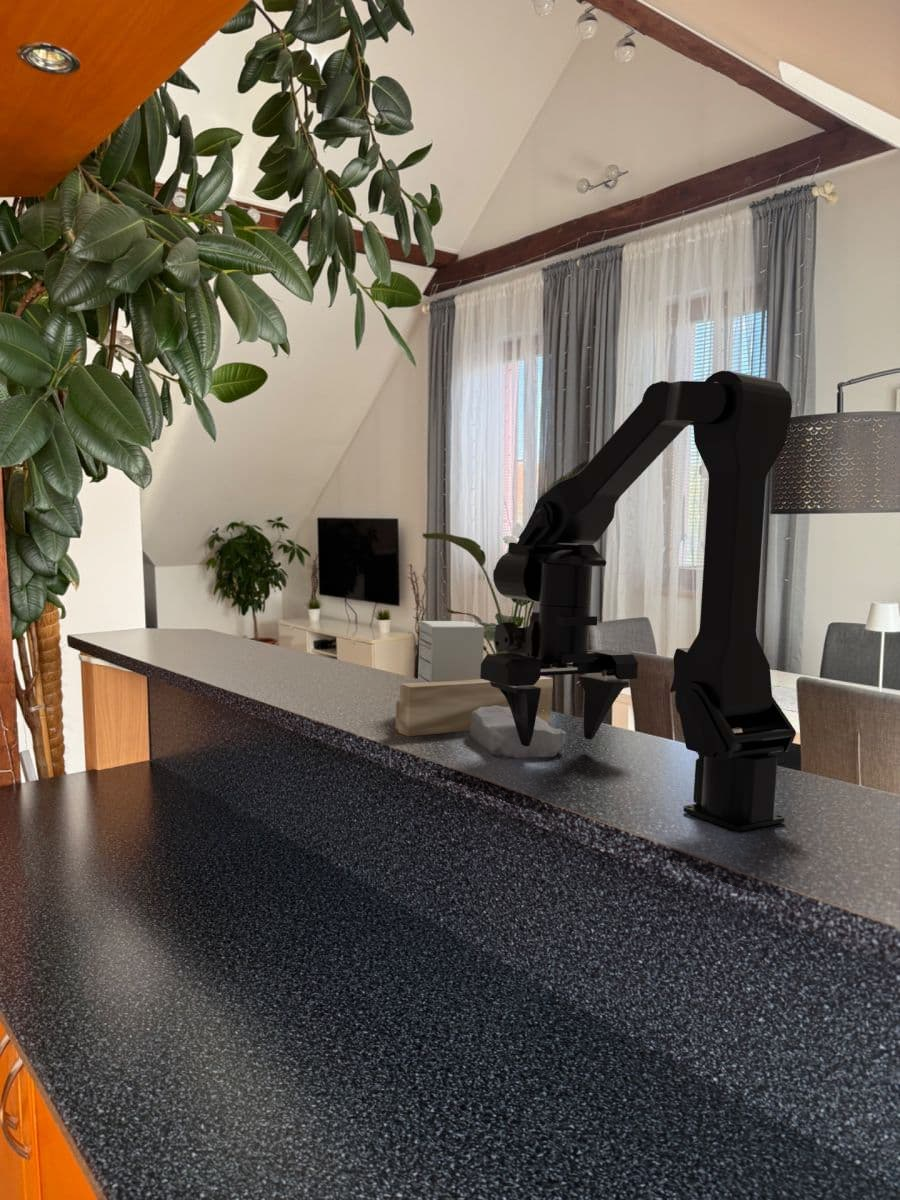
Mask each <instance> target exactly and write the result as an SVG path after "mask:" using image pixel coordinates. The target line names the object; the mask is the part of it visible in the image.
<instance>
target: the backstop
mask: <svg viewBox="0 0 900 1200" xmlns="http://www.w3.org/2000/svg"><path fill="white" fill-rule="evenodd" d="M553 682H554V678H553V677H549V676H540V678H539V680H538V681H537V682H536V683H535V685H533V686H534V687H538V688H541V693H540V699H539V704H538V709H537V715H536V716H538V717H539V718H541V719H542V720H544V721H546V722H547V723H548V724H551V722H552V721H551V720H552V704H553V686H554V685H553V684H554V683H553ZM399 689H400V690H399V700H396V706H395V708H396V710H395V711H396V712H395V730H397V731H398V734H399V733H400V734H402V735H404V736H405V737H414V736H415V737H416V736H426V735H434V734H435V735H436V734H447V733H448V734H449V733H456V732H467V731H469V732H470V727H471V724H470V722H471V715H472V712H473V711H474V710H477V709H479V708H480V707H491V706H500V707H509V704H508V702H507V699H506V697H505V696H504V695H503V693H502V692H501V691H500V690H499V688H495V687H492V686H491V684H490V681H488V680H484V679H478V680H461V681H444V682H426V683H418V682H414V683H413V682H412V683H400V685H399ZM543 710H544V711H543Z"/></svg>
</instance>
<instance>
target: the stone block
mask: <svg viewBox="0 0 900 1200" xmlns="http://www.w3.org/2000/svg"><path fill="white" fill-rule="evenodd" d="M470 724H471V727H470V731H469V735H470V737H471V739H473V740H474V742H476V743H477V744H478V745H480V746H481V747H483V748H484V749H485V750H486V751H487V752H488V753H489V754H491V755H492V756H495V757H499V758H500V759H509V758H513V759H520V758H527V757H528V758H531V757H532V758H534V757H535V758H551V757H555V756H557V754H558V753H559V752H560V751H561V749H562V748H563V746H564V745H565V742H566V738H567V732H566V731H564V730H563V729H562V728H555V727H553V726H550V723H547V722H546V721H544V720H542V719H541V718H539V717H538V716H536V720H535V726H534V732H533V736H532V739H531V743H530V746H527V747H526V746H523V745H522V744H521V742H520V739H519V735H518V732H517V729H516V725H515V722H514V719H513V715H512V712H511V709H510V707H500V706H491V707H480V708H479V709H477V710H474V711H473V712H472V715H471V722H470Z"/></svg>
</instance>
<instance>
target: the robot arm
mask: <svg viewBox="0 0 900 1200" xmlns="http://www.w3.org/2000/svg"><path fill="white" fill-rule="evenodd" d="M792 409H793V401H792V397H791V394H790V392H789V391H788V390H787V389H786V388H785V387H784V386H783V384H782V383H780V382H779V381H776V380H775V379H773V378H772V379H771V378H766V377H761V376H756V375H752V374H747V373H746V374H745V373H742V372H738V371H737V372H736V371H730V370H719V371H716V372H714V373H712V374H711V375H710V376H708V377H707V378H706V379H705V380H704V381H702V380H701V381H698V380H694V381H693V380H680V381H674V382H671V381H665V380H661V381H658V382H655V383H652V384H650V385H649V386H648V387H647V388H646V390H645V391H644V393H643V396H642V398H641V402H640V403H639V404H638V405H637V407H635V408H634V409H633V411H632V412H631V413H630V414H629V416H628V417H627V418H626V419H625V420H624V421H623V423H622V424H621V425H620V426H619V427H618V428H617V429H616V430H615V431H614V433H613V434H612V435H611V437H609V438H608V440H607V441H606V442H605V443H604V444H603V445H602V447H601V448H600V449H599V450H598V452H596V454H595V455H594V456H593V457H592V458H591V459H590V461H589V462H588V463H587V464H586V465H585V466H584V467H583V468H582V469H581V470H580V471H579V472H577V473H576V474H574V475H571V476H570V477H568V478H565V479H562V480H560V481H558V482H556V483H555V484H554V485H552V487H550V488H549V489H548V490H547V491H546V492H544V493H543V494H542V495H541V496H540V497H539V499H538V500H537V502H536V503H535V506H534V509H533V511H532V513H531V515H530V517H529V519H528V521H527V523H526V525H525V527H524V529H523V531H522V532H521V534H520V535H519V536H518V541H517V542H508V546H507V547H508V549H507V550H508V552H505V553H504V554H503V555H502V556H501V557H500V558H499V559H498V561H497V563H496V565H495V567H494V569H493V572H492V576H493V577H492V578H493V583H494V586H495V588H496V590H497V591H498V592H499V594H501V595H502V596H503V597H504V598H509V599H515V600H523V601H531V602H538V603H539V605H538V611H531V615H530V616H529V623H528V626H523V627H518V626H517V624H516V623H515V622H509V621H508V622H500V623H498V624H496V625H495V629H494V630H495V631H494V636H493V637H494V647H495V650H496V651H497V652H498V653H487V654H486V655H485V657H483V661H482V663H481V674H480V679H484V680H488V681H490V684H491V686H492V687H495V688H499V690H500V691H501V692H502V693H503V695H504V696H505V697H506V699H507V702H508V704H509V707H510V709H511V712H512V715H513V719H514V722H515V725H516V729H517V732H518V735H519V739H520V742H521V744H522V745H523V746H526V747H527V746H530V743H531V739H532V736H533V732H534V726H535V720H536V715H537V709H538V704H539V699H540V693H541V688H538V687H534V686H533V685H535V683H536V682H537V681H538V680H539V678H540V676H545V677H549V676H551V677H552V676H566V675H568V676H569V675H578V676H577V677H578V679H579V681H580V684H581V686H582V689H583V691H584V697H583V698H584V699H583V700H584V702H583V703H584V704H583V707H584V708H583V736H584V739H585V740H589V741H591V740H593V739H594V738H595V736H596V734H597V732H598V730H599V729H600V727H601V725H602V724H603V721H604V719H605V718H606V717H607V714H608V713H609V710H610V709H611V708H612V706H613V705H614V703H615V701H616V700H617V698H618V697H619V696H620V694H621V693H622V691H623V689H624V688H626V687H627V688H628V687H629V685H630V681H627V680H637V679H638V670H639V662H638V661H637V658H636V657H635V656H634V654H633V653H628V652H622V651H618V650H612V649H589V639H590V626H598V616H596V615H591V604H592V603H591V600H592V599H591V598H592V584H593V582H592V581H593V567H605V566H606V565H607V560H606V559H605V558H604V556H602V554H600V553H599V552H598V551H597V549H596V547H595V545H594V544H596V543H597V542H598V541H600V539H601V538H602V536H603V535H604V533H605V531H606V530H607V529H608V527H609V526H610V524H611V523H612V521H613V519H614V518H615V512H616V504H617V502H618V501H619V499H620V498H621V496H622V495H623V494H624V493H625V492H626V491H627V490H628V489H629V488H631V486H632V485H633V484H634V483H635V481H636V480H637V479H638V478H640V476H641V475H642V474H643V473H644V472H645V471H646V470H647V469H648V468H649V467H650V466H651V465H652V464H653V462H654V461H655V460H656V459H657V458H658V457H659V456H660V455H661V454H662V453H663V452H664V451H665V449H666V448H668V447H669V445H670V444H671V443H672V442H673V441H674V440H675V439H676V438H677V437H678V436H679V435H680V433H681V432H683V431H684V430H685V428H687V427H688V426H693V440H694V445H695V447H696V449H697V452H698V453H699V456H700V457H701V460H702V462H703V465H704V466H705V468H706V471H707V474H708V475H707V476H708V486H707V503H706V518H705V519H706V520H705V522H706V523H705V533H704V534H705V535H704V536H705V537H704V549H703V550H704V551H703V553H704V554H703V569H702V570H703V571H702V583H701V585H702V587H701V600H700V618H699V619H700V620H699V628H698V629H699V630H698V633H697V635H696V637H695V639H694V640H693V641H692V643H691V645H690V647H683V648H682V647H681V648H680V647H679V648H676V649H675V651H674V653H673V680H672V684H671V686H670V690H669V692H670V693H674V701H675V705H674V706H675V708H676V712H677V714H678V715H679V720H680V724H681V725H680V726H681V727H682V728H681V729H682V733H683V738H684V743H685V744H684V745H685V748H686V750H688V751H692V752H696V754H697V756H698V758H696V759H695V768H694V782H693V784H694V786H693V798H692V799H693V802H694V803H693V804H688V805H684V806H683V810H682V811H683V812H684V813H687V814H689V815H692V816H694V817H697V818H700V819H702V820H706V821H708V822H711V823H713V824H716V825H718V826H721V827H724V828H727V829H730V830H733V831H736V832H743V831H748V830H753V829H758V828H763V827H767V826H771V825H772V826H773V825H776V824H783V823H785V820H786V817H785V815H782V814H778V813H776V812H775V800H776V799H775V798H776V787H777V786H776V784H777V770H778V759H779V758H778V757H779V756H777V755H775V754H772V753H780V752H781V753H782V752H783V753H785V752H786V753H787V752H790V750H791V748H792V745H793V743H794V739H795V738H796V735H797V731H796V728H795V727H794V726H793V725H792V723H791V722H790V720H789V718H788V717H787V716H786V714H785V713H784V712H783V710H782V708H781V707H780V705H779V704H778V702H777V701H776V699H775V698H774V696H773V690H772V676H771V665H770V663H769V660H768V659H767V656H766V654H765V652H764V650H763V648H762V645H761V643H760V641H759V640H758V636H757V623H758V622H757V621H758V610H759V609H758V604H759V593H760V592H759V590H760V575H761V561H762V547H763V533H764V530H763V529H764V514H765V499H766V485H767V483H766V482H767V477H768V474H769V472H770V470H771V469H772V468H773V465H774V464H775V462H776V460H777V459H778V457H779V456H780V454H781V452H782V451H783V449H784V448H785V444H786V441H787V440H786V439H787V436H788V430H789V426H790V422H791V416H792ZM501 652H502V653H501ZM505 652H506V653H505ZM734 730H741V731H742V732H736V733H735V732H734Z"/></svg>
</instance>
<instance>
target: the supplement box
mask: <svg viewBox="0 0 900 1200" xmlns="http://www.w3.org/2000/svg"><path fill="white" fill-rule="evenodd" d="M418 640H419V641H418V644H419V645H418V672H417V683H426V682H444V681H461V680H478V679H480V674H481V663H482V661H483V660H484V647H485V646H484V645H485V644H484V643H485V641H484V640H485V627H484V626H483V625H480V624H477V623H475V622H471V621H467V620H466V621H465V620H462V621H461V620H460V621H459V620H420V621H419V639H418Z"/></svg>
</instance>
